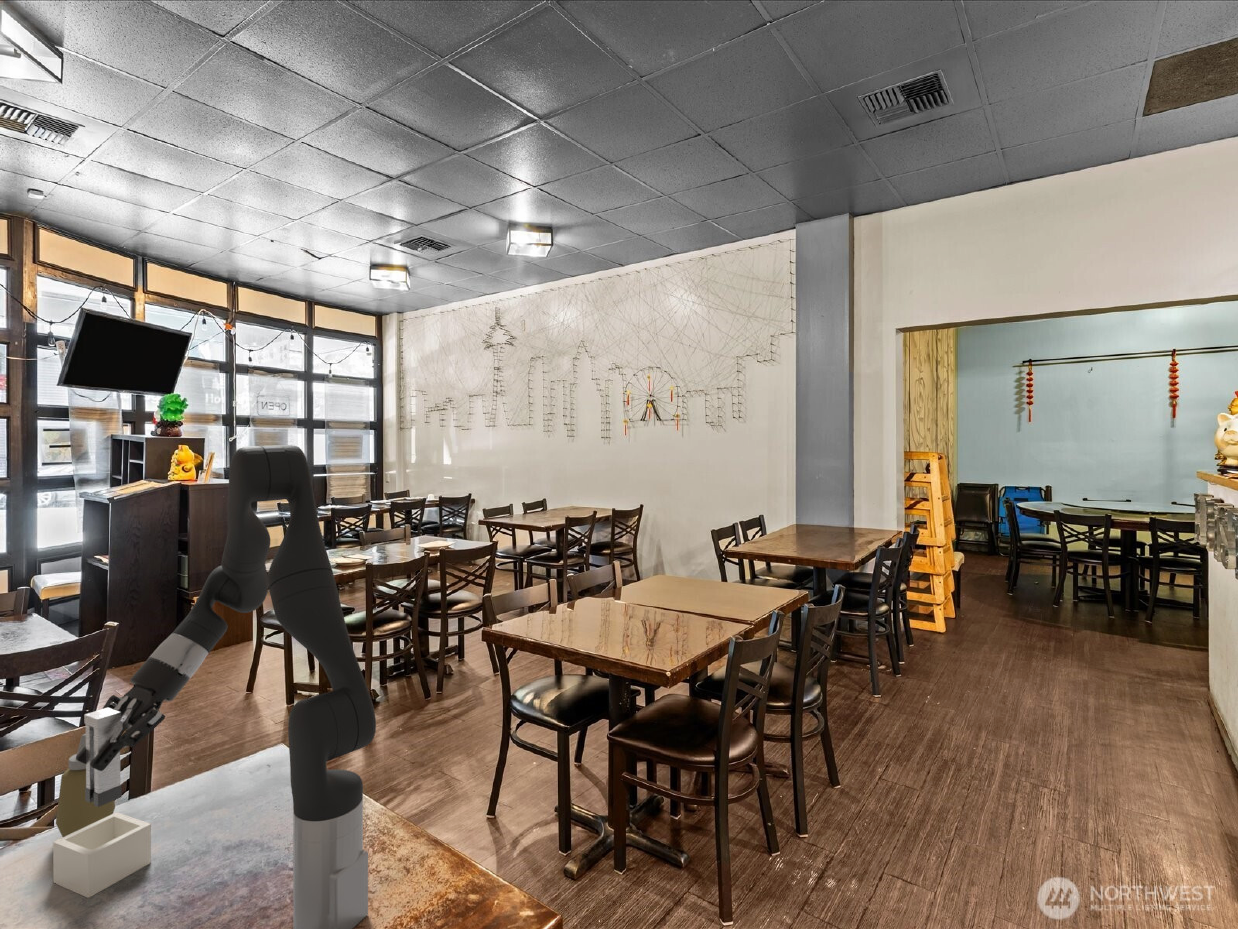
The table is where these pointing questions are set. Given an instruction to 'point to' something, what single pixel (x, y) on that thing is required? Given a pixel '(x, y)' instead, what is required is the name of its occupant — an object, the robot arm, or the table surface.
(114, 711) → the grey arch block
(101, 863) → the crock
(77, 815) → the squeeze bottle
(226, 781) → the table surface
